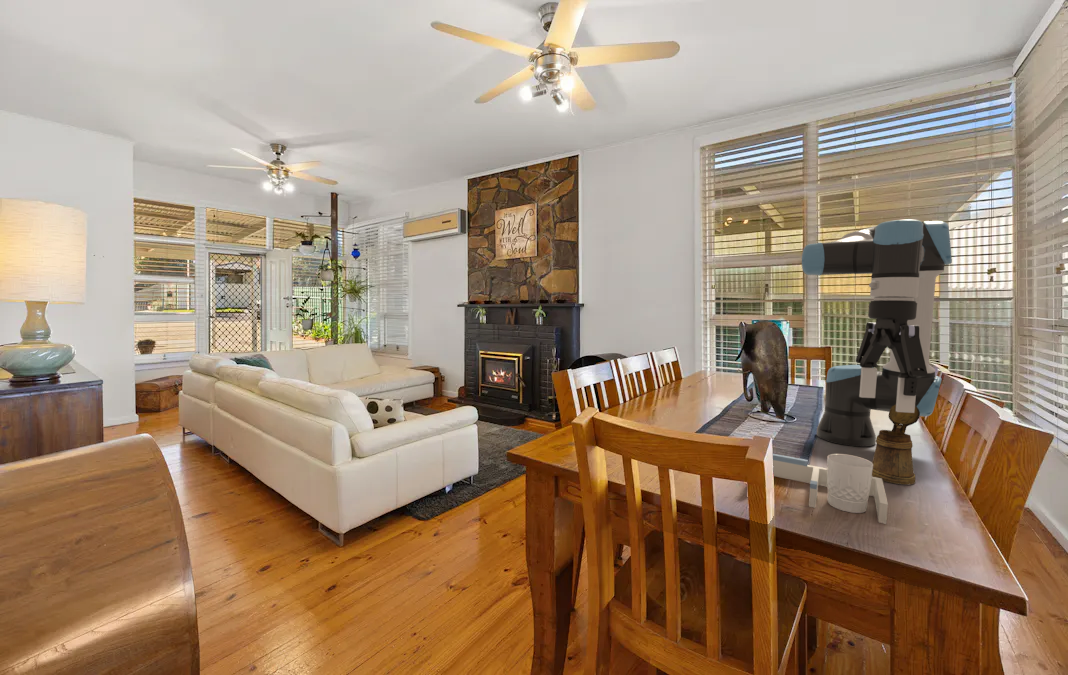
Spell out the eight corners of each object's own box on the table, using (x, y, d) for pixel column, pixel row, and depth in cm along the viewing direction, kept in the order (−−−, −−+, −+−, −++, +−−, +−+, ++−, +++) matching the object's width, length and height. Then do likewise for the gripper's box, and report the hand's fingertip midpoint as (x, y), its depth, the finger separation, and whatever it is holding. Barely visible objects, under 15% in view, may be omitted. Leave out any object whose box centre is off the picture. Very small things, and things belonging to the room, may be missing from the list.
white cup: (829, 494, 100) (832, 450, 99) (873, 506, 95) (876, 460, 94) (820, 505, 95) (823, 459, 94) (865, 518, 89) (869, 470, 88)
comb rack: (758, 471, 113) (759, 451, 113) (880, 495, 100) (882, 473, 99) (747, 492, 101) (749, 470, 100) (886, 524, 87) (888, 498, 87)
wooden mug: (925, 474, 112) (931, 404, 110) (909, 488, 104) (915, 412, 102) (882, 464, 119) (887, 397, 117) (863, 476, 111) (868, 404, 109)
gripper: (842, 300, 103) (836, 391, 104) (909, 298, 78) (900, 418, 80) (879, 300, 101) (872, 393, 103) (960, 299, 77) (949, 421, 78)
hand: (884, 404), depth 91 cm, fingers open, 13 cm apart
